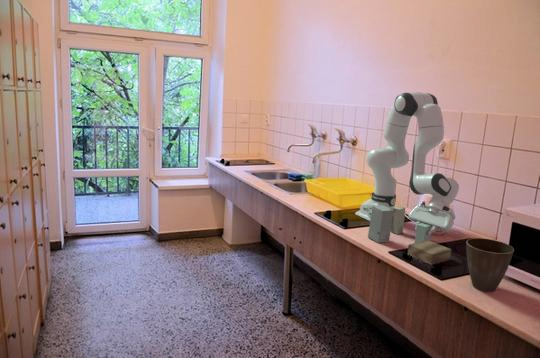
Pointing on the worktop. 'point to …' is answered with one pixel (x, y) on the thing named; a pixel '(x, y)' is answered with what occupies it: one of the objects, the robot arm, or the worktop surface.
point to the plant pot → (487, 262)
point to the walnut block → (429, 252)
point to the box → (398, 220)
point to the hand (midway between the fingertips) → (422, 232)
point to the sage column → (422, 232)
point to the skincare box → (380, 224)
